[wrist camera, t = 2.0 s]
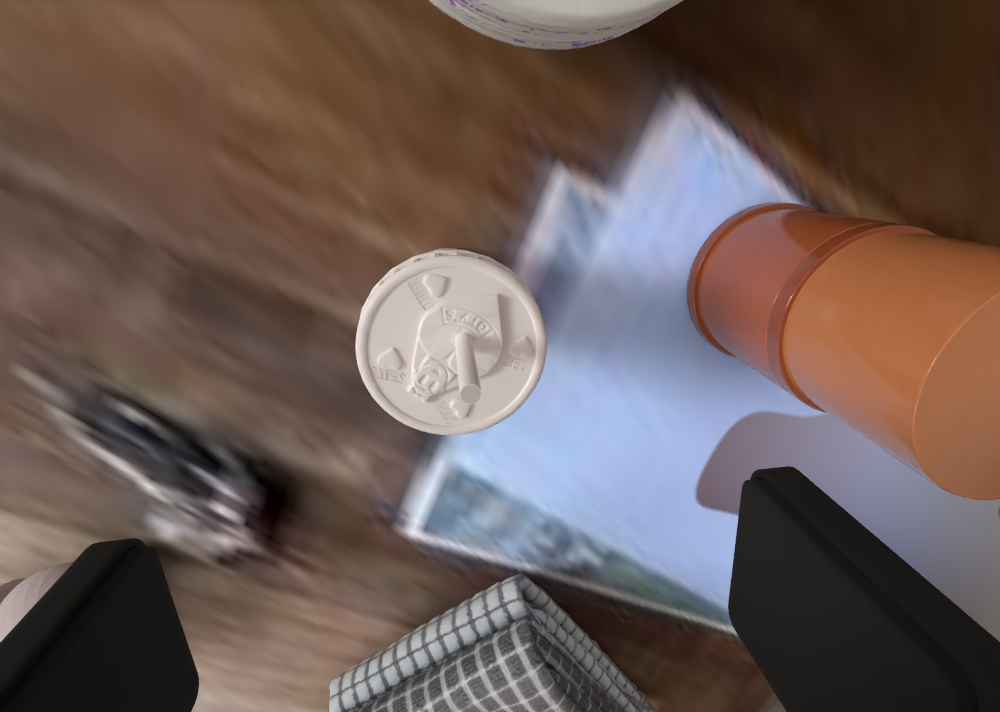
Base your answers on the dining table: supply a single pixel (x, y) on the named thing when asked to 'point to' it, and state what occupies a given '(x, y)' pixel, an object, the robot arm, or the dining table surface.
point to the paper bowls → (553, 19)
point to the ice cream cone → (25, 595)
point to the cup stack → (865, 330)
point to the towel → (491, 662)
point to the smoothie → (450, 342)
